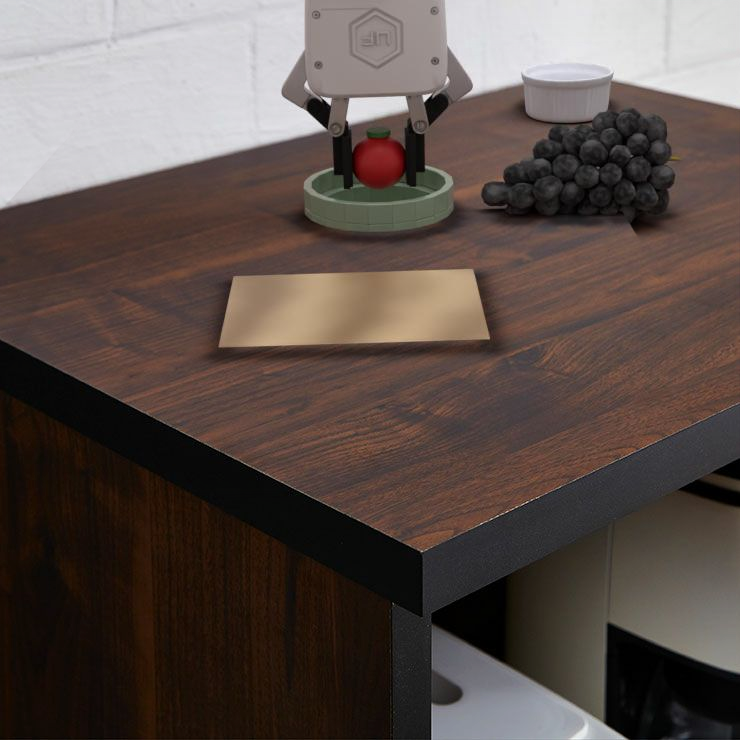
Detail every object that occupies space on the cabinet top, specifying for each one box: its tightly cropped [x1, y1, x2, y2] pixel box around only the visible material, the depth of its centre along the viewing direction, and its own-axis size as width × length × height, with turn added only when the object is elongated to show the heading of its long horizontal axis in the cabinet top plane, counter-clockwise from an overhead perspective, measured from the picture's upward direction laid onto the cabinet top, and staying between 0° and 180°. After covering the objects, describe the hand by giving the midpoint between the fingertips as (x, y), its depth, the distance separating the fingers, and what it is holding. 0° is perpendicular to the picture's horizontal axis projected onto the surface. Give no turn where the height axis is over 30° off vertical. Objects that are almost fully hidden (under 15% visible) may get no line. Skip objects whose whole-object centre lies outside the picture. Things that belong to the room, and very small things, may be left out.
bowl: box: [303, 164, 455, 233], centre depth 105 cm, size 11×11×4 cm
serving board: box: [218, 268, 491, 349], centre depth 87 cm, size 16×12×2 cm
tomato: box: [352, 126, 406, 190], centre depth 103 cm, size 4×4×4 cm
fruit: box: [480, 107, 683, 224], centre depth 104 cm, size 9×8×15 cm
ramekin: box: [520, 61, 615, 124], centre depth 135 cm, size 9×9×4 cm
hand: (379, 180), depth 104 cm, fingers closed on tomato, 4 cm apart
